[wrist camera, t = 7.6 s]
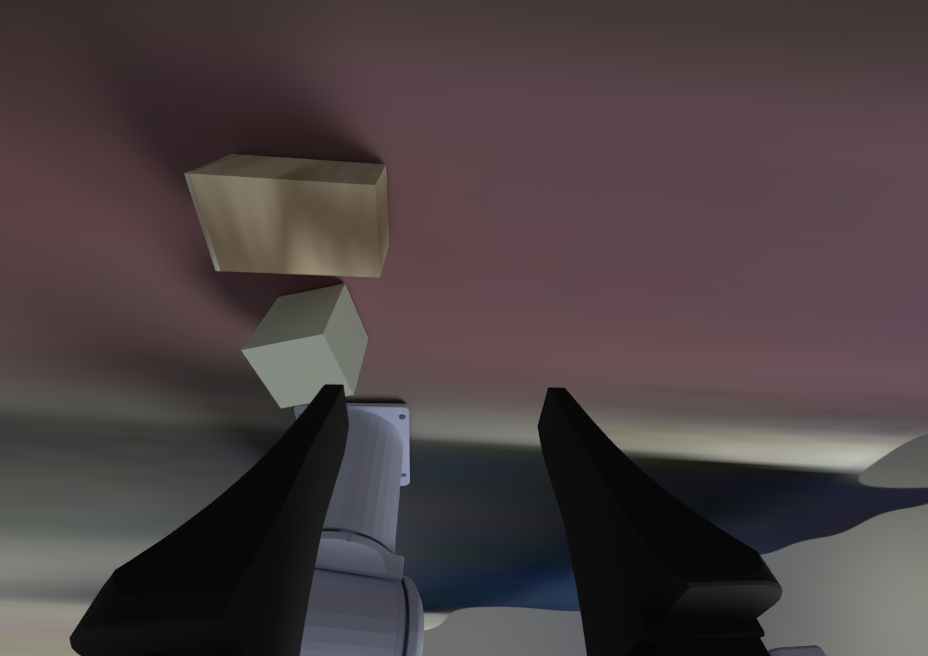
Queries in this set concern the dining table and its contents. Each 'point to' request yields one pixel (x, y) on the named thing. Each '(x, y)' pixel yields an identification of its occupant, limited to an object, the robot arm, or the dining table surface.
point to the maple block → (293, 215)
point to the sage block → (308, 345)
